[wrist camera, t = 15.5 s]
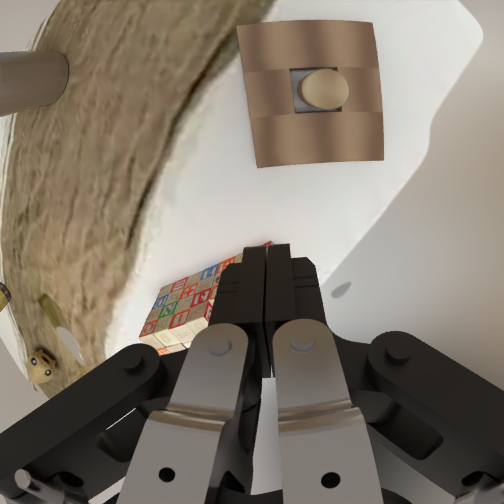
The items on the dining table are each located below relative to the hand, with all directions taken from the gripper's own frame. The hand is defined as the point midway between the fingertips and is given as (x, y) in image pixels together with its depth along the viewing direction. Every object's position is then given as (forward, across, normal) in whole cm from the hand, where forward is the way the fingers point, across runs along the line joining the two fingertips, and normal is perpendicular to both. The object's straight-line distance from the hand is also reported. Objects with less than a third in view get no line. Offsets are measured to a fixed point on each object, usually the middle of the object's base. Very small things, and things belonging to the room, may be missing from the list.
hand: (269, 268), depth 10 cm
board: (+29, -6, -6) cm, 30 cm away
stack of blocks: (+29, +10, +21) cm, 38 cm away
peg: (+29, -6, -6) cm, 30 cm away
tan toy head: (+29, +72, +47) cm, 91 cm away
